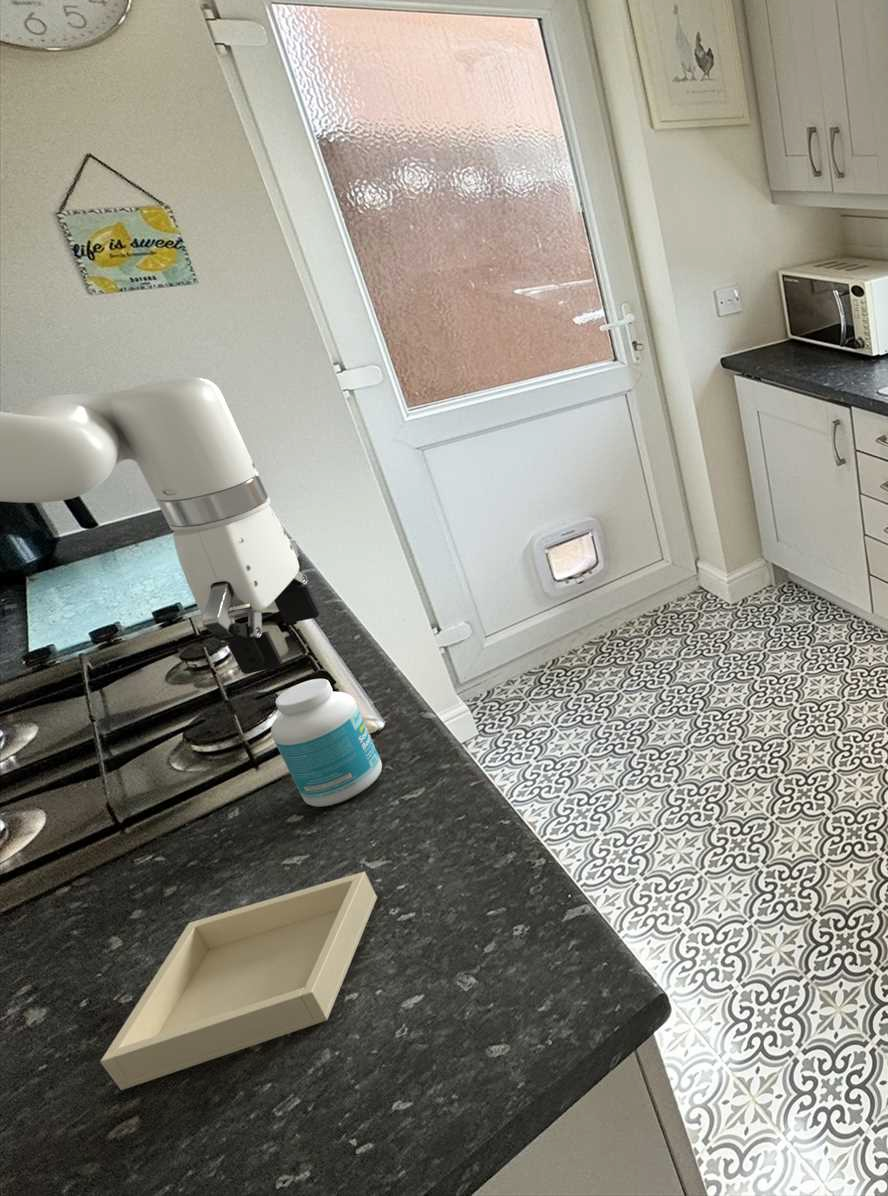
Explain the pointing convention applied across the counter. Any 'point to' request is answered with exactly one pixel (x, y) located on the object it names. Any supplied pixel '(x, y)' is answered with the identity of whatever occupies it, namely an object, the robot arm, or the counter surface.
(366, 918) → the tray
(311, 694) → the pill bottle
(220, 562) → the robot arm
